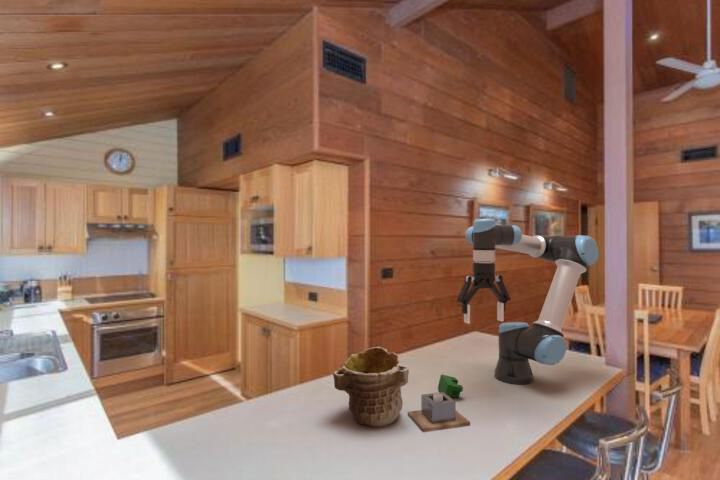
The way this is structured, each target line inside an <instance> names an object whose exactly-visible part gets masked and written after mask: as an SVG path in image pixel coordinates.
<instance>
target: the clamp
mask: <svg viewBox="0 0 720 480" xmlns="http://www.w3.org/2000/svg"><path fill="white" fill-rule="evenodd" d="M463 389H464V386H463V385H462V384H459V380H458V378H456V377H454V376H450V375H448V374H447V375H446V374H443V373H442V374H440V377H439V381H438V385H437V390H438V392H439V393H440V392H444V393H445V394H446V395H448V396H449V397H450V398H452V397H455V398H460V395H461V393H462V392H463V391H464V390H463Z"/></svg>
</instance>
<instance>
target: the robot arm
mask: <svg viewBox="0 0 720 480" xmlns="http://www.w3.org/2000/svg"><path fill="white" fill-rule="evenodd" d="M472 224H473V225H472V226H470V227H468V228H467V229H466V231H465V236H464V237H465V240H466V242H467V243H468V244H470V245H472V257H473V258H472V261H473V264H472V272H473V276H471V275H466V276H465V277H464V283H463V285H462V286H461V289H460V292H459V293H458V296H457V298H456V303H460V304H461V313H462V314H463V322H464V323H465V324H467V325H468V324H471V305H470V304H469V303H470V301H471V300H472V299H473V297H474V296H475V294H476V293H477V292H478V291H479V290H480V289H481V290H482V289H484V290H485V289H490V291H491V292H492V293H493V295H494V296H495V297H496V299H497V300H498V301H497V304H496V310H497V311H496V314H497V315H496V320H497V321H498V322H499V321H500V322H503V323H501V324H499V326H498V360H497V362H496V365H495V368H494V371H493V372H494V377H495V379H497V380H498V381H501V382H504V383H508V384H513V385H527V384H530V383H533V381H534V374H533V371H532V370H533V369H532V368H531V365H530V360H532V361H535V362H537V363H539V364H541V365H546V366H547V365H548V366H554V365H556V364H558V363H560V362H561V361H562V360H563V358H564V357H565V355H566V353H567V341H566V340H565V338H564V335H565V334H564V332H563V330H562V328H563V325H564V322H565V319H566V316H567V313H568V311H569V308H570V305H571V302H572V300H573V296H574V293H575V290H576V288H577V284H578V283H579V279H580V276H581V274H583V273H586V272H587V270H588V267H589V266H592V265H594V264H596V263H597V261H598V259H599V256H600V255H599V248H598V244H597V242H596V240H595V239H594V238H593V237H591V236H589V235H581V234H578V235H545V236H544V235H539V234H538V235H533V236H532V235H526V234H523V232H522V230H521V228H520V227H519V226H517V225H515V224H514V225H512V224H496V221H495V219H494V218H476V219H474V221H473V222H472ZM496 249H501V250H506V251H511V252H516V253H517V252H518V253H523V254H528V255H529V256H530V257H532V258H536V259H540V260H544V261H547V262H552V263H554V264H555V265H556V267H557V268H556V269H555V273H554V276H553V279H552V282H551V284H550V287H549V289H548V293H547V295H546V297H545V301H544V303H543V306H542V309H541V312H540V314H539V316H538V319H537V320H536V321H534V322H532V324H531V327H530V325H529V323H527V322H523V321H512V322H511V321H509V322H504V320H505V319H504V318H505V317H504V312H506V304H507V303H508V301H511V297H510V294H509V292H508V290H507V288H506V286H505V283H504V280H503V279H504V278H503V275H500V274H496V275H495V273H496V264H495V263H494V262H495V261H496ZM472 283H473V284H472ZM495 283H496V284H495Z"/></svg>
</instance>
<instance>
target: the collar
mask: <svg viewBox="0 0 720 480" xmlns="http://www.w3.org/2000/svg"><path fill="white" fill-rule="evenodd" d="M435 393H436V392H433V393H425V394H421V401H420V403H421V409H420V410H421V413H422V414H423V415H424V416H425V417H426V418H427V419H428V420H429V421H430V422H431V423H432V424H436V423H443V422H450V421H456V411H457V410H456V409H457V408H456V405H457V404H456V403H457V402H456V401H455V400H454V399H453V398H452V397H451V398H450V397H449V396H448V395H446V394H445V393H444V392H440V391H439V393H440V394H442V395H443V401H440V402H434V401H433V394H435Z"/></svg>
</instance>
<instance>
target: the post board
mask: <svg viewBox="0 0 720 480" xmlns="http://www.w3.org/2000/svg"><path fill="white" fill-rule="evenodd" d="M434 393H435V394H433V401H434V402H440V401H443V395H442V394H440V392H434ZM407 415H408V417H409V418H410V419H411V420H412V421H413V422H414V424H416V426H417V427H418V428H419V429H420V430H421V431H422V433H424V432H431V431H438V430H444V429H445V430H447V429H453V428H462V427H467V426H471V422H470V420H468V419H467V418H466V417H465V416H463V414H461V413H460V412H459V411H458V410H456V421H450V422H443V423H436V424H432V423H431V422H430V421H429V420H428V419H427V418H426V417H425V416H424V415H423V414H422V413H421V409H419V410H411V411H407Z"/></svg>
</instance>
